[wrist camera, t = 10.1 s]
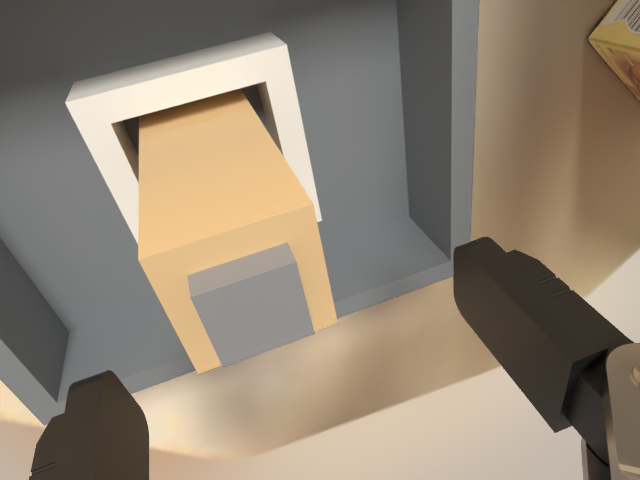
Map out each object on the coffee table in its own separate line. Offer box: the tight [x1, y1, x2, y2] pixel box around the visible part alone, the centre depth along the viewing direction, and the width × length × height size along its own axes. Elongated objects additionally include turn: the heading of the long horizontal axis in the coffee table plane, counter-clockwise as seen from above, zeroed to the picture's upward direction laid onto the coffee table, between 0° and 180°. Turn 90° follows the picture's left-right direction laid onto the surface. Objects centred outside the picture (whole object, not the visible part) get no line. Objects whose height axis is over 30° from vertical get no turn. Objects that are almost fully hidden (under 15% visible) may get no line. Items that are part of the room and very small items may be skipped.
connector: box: [138, 88, 338, 374], centre depth 15 cm, size 4×4×11 cm
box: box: [0, 0, 479, 425], centre depth 18 cm, size 20×16×5 cm
